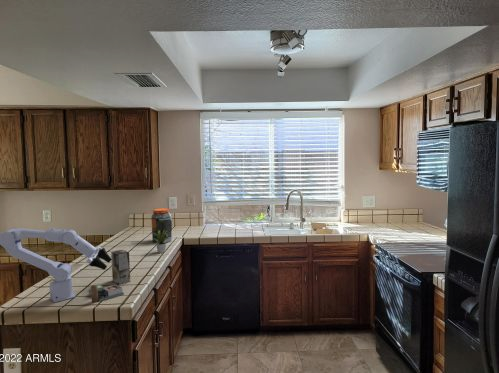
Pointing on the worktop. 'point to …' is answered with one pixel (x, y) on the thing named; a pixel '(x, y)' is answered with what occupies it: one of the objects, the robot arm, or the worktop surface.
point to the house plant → (161, 241)
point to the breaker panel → (109, 292)
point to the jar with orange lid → (161, 223)
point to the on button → (99, 288)
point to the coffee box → (120, 266)
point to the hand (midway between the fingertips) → (108, 264)
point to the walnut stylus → (94, 293)
